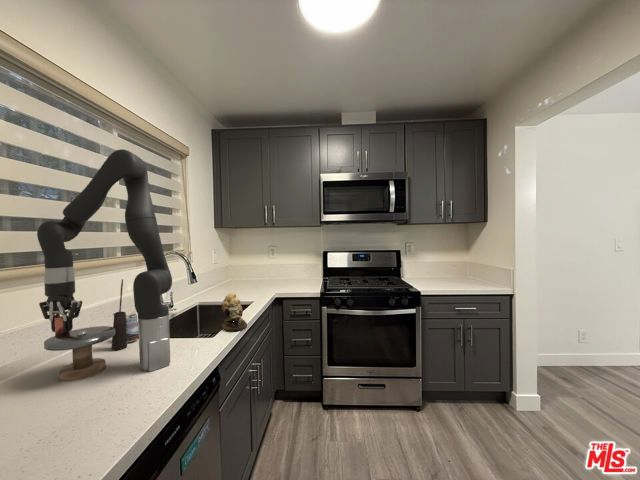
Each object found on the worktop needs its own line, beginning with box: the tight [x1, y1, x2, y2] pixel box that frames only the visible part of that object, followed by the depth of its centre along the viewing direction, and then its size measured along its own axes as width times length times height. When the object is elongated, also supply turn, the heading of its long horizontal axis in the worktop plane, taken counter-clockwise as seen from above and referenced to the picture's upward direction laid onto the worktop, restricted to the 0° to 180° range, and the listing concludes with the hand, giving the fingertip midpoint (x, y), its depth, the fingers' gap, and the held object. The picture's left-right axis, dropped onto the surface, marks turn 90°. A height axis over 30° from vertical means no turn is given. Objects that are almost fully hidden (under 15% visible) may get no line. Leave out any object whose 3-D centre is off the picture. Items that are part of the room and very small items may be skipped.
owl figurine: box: [221, 292, 248, 332], centre depth 136 cm, size 18×12×17 cm, turn 29°
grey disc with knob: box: [43, 314, 115, 352], centre depth 93 cm, size 18×18×8 cm
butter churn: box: [110, 279, 128, 352], centre depth 111 cm, size 9×10×28 cm
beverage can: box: [126, 312, 139, 343], centre depth 120 cm, size 6×7×12 cm
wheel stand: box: [57, 345, 107, 382], centre depth 93 cm, size 12×12×11 cm
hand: (62, 330), depth 93 cm, fingers closed on grey disc with knob, 3 cm apart
